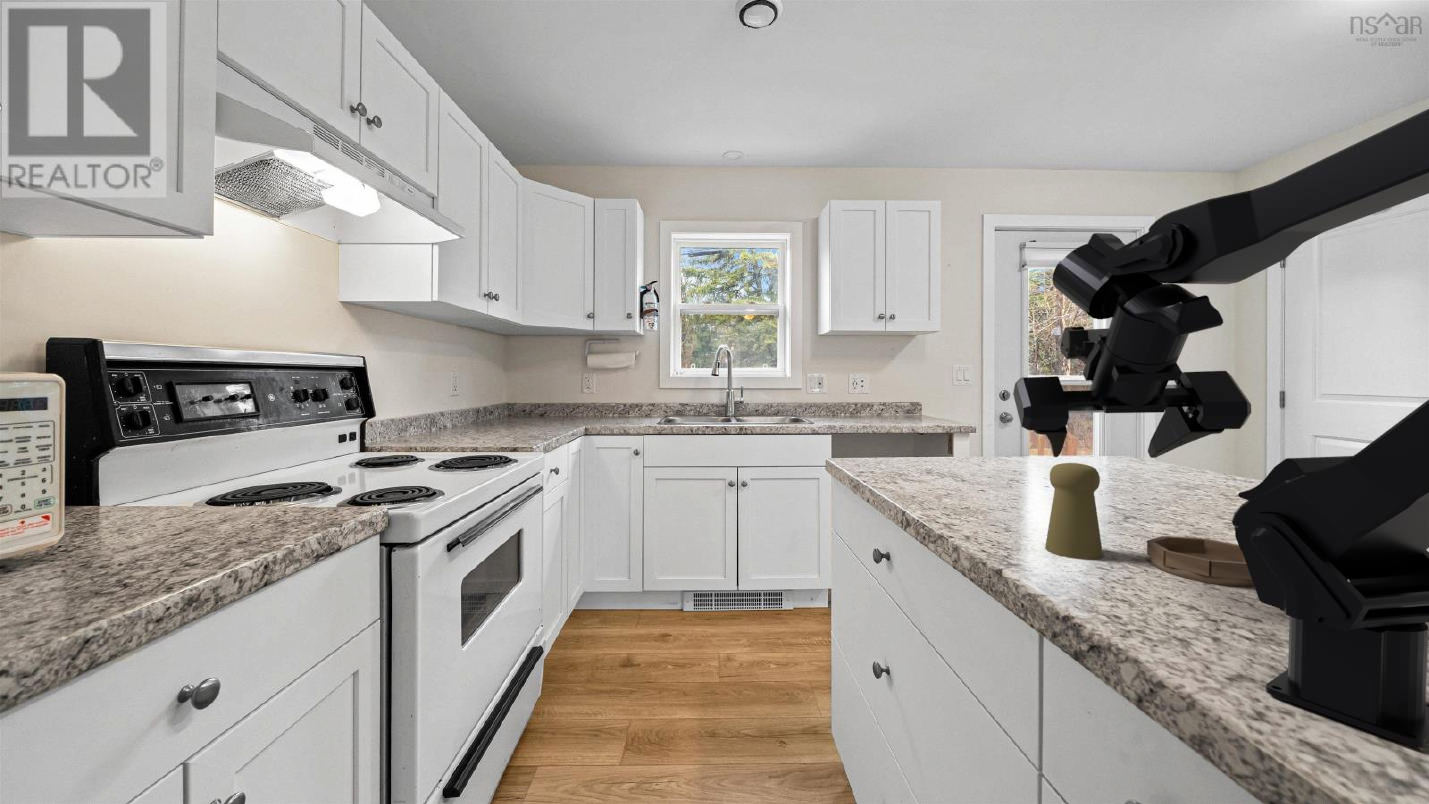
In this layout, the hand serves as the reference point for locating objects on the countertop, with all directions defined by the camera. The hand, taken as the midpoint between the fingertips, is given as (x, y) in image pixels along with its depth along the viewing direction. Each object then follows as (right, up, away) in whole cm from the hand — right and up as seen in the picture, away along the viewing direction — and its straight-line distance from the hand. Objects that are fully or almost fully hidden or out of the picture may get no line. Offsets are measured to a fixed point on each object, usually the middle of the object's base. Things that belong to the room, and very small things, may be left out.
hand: (1101, 454), depth 60 cm
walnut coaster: (+11, -13, -1) cm, 17 cm away
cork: (+1, -13, +7) cm, 15 cm away
